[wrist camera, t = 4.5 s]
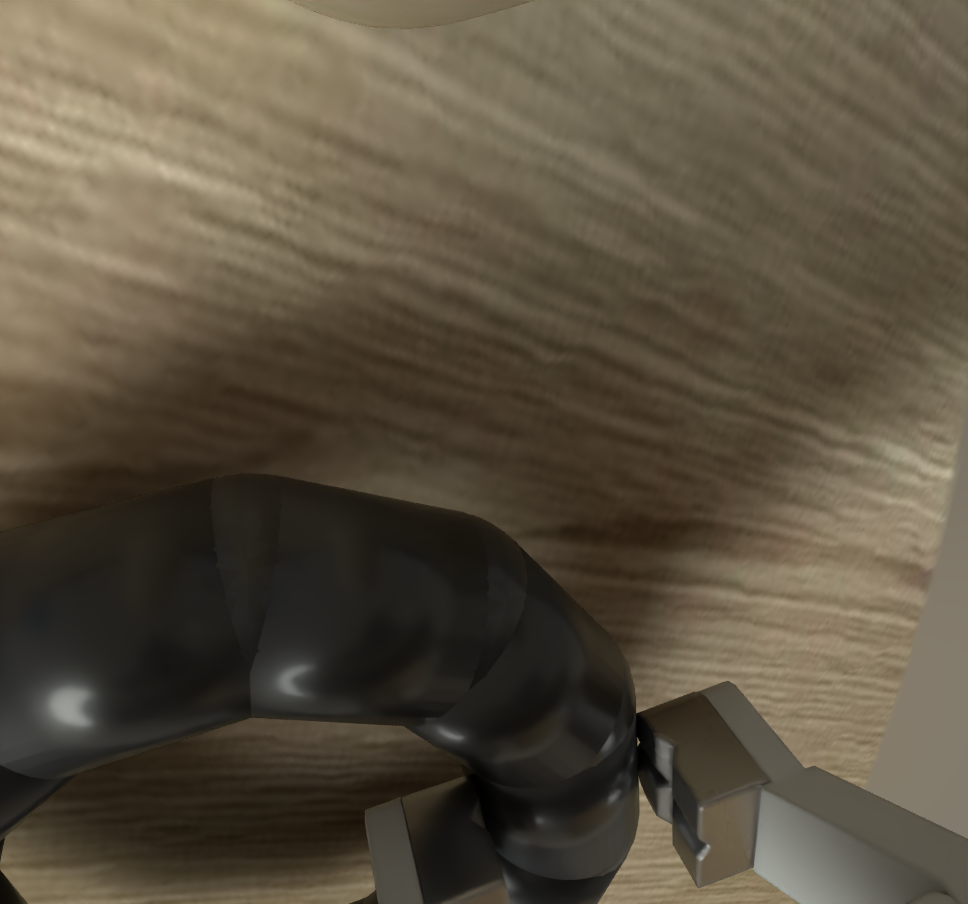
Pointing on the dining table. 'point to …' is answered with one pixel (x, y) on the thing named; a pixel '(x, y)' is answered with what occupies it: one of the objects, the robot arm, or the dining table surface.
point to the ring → (320, 656)
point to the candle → (406, 11)
